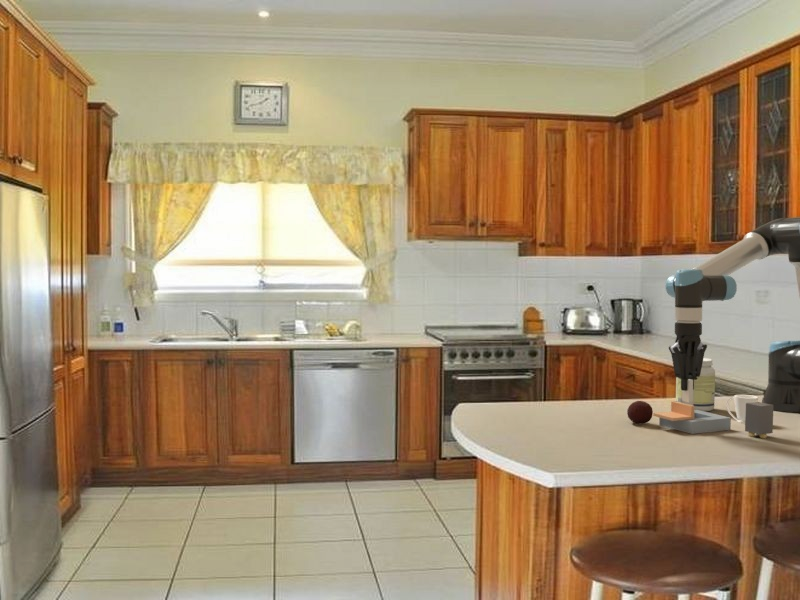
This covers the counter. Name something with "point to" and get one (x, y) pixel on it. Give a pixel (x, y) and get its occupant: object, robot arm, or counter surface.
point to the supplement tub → (701, 388)
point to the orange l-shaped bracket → (677, 412)
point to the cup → (741, 406)
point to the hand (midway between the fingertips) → (687, 401)
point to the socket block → (699, 423)
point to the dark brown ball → (640, 412)
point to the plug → (759, 419)
